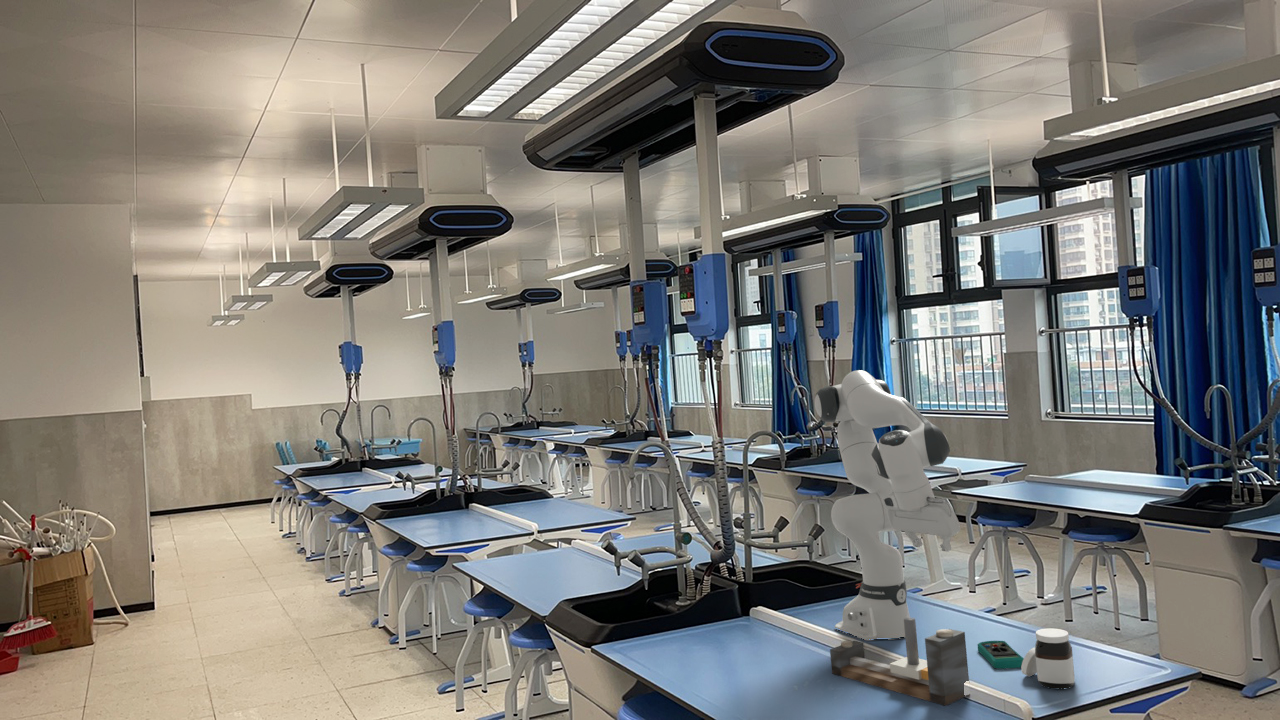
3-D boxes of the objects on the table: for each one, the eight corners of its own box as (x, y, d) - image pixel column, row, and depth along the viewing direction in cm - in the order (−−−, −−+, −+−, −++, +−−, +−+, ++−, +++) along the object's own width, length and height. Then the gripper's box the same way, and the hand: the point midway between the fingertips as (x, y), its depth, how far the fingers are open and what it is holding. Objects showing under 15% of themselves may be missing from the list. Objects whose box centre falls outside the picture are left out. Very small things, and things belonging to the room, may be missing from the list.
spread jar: (1073, 693, 205) (1068, 640, 205) (1018, 688, 210) (1013, 637, 210) (1077, 675, 215) (1072, 624, 215) (1025, 671, 221) (1020, 622, 221)
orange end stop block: (921, 678, 211) (920, 669, 211) (935, 672, 214) (934, 664, 214) (932, 681, 209) (932, 672, 209) (946, 675, 212) (945, 666, 212)
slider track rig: (832, 673, 230) (826, 613, 231) (856, 664, 236) (851, 605, 236) (945, 705, 204) (939, 638, 204) (970, 694, 209) (964, 628, 209)
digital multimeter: (1006, 650, 238) (1005, 638, 238) (1026, 669, 223) (1025, 657, 223) (977, 652, 238) (975, 640, 238) (995, 671, 223) (993, 659, 223)
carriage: (890, 672, 217) (885, 619, 217) (909, 664, 221) (904, 613, 221) (919, 679, 210) (914, 625, 211) (938, 671, 215) (933, 618, 215)
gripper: (955, 493, 217) (974, 547, 219) (894, 488, 235) (911, 538, 237) (937, 504, 214) (956, 559, 216) (876, 499, 232) (894, 549, 234)
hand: (932, 548), depth 226 cm, fingers open, 8 cm apart
